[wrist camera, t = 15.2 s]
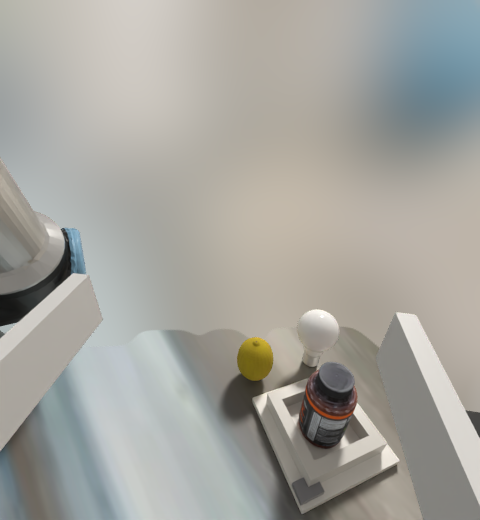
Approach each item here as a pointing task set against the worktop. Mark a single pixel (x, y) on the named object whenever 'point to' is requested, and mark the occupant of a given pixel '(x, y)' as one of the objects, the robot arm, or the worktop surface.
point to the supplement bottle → (327, 405)
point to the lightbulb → (317, 334)
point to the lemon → (255, 359)
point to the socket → (320, 449)
